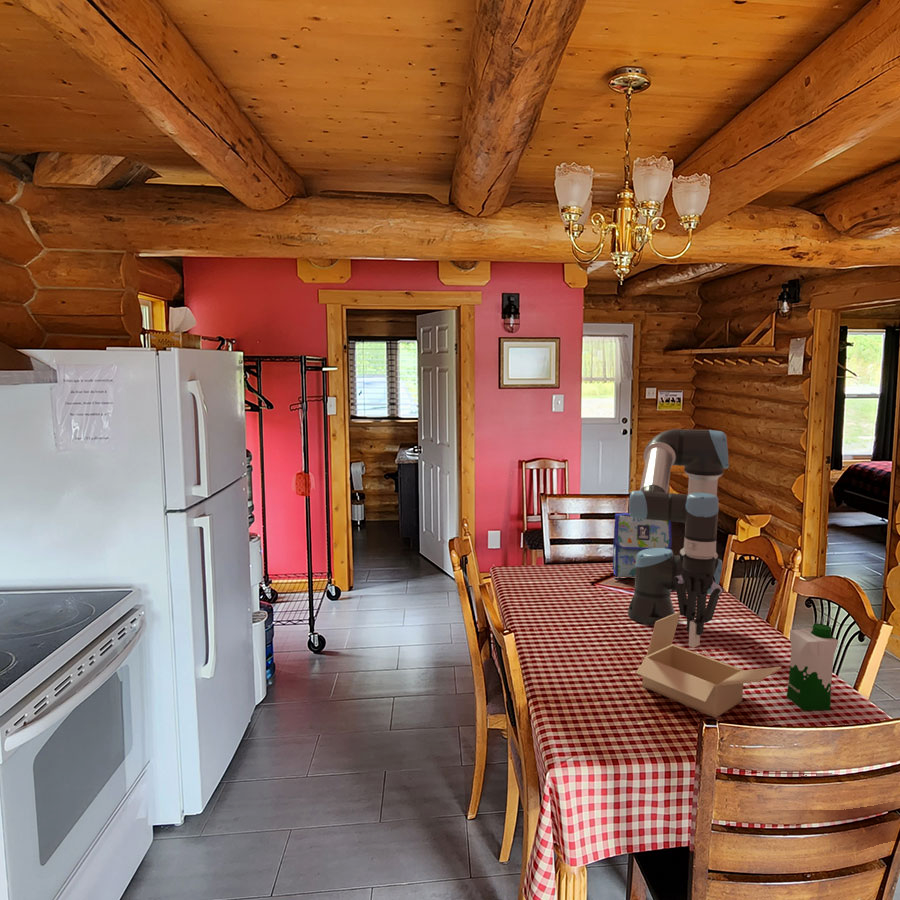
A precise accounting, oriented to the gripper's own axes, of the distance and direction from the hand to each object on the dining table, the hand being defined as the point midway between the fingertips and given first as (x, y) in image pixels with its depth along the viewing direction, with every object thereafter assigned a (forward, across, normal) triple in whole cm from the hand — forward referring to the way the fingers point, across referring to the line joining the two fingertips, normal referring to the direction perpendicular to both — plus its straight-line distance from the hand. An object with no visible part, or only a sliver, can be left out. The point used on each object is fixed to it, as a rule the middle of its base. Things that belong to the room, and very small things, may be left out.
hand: (694, 645), depth 166 cm
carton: (+13, 0, 0) cm, 13 cm away
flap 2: (+5, +10, 0) cm, 11 cm away
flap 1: (+5, -10, 0) cm, 11 cm away
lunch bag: (+13, -65, +74) cm, 100 cm away
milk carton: (+13, +21, +18) cm, 31 cm away
